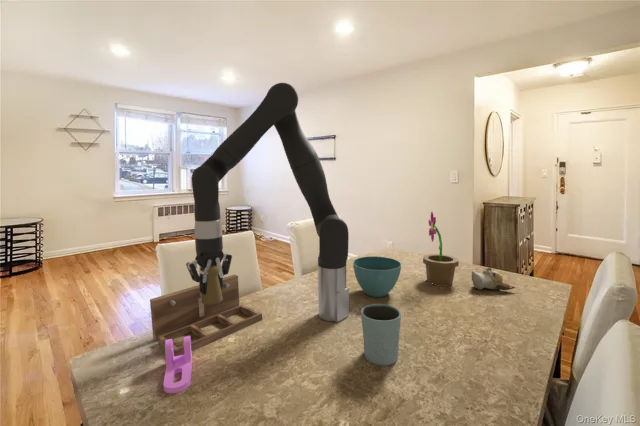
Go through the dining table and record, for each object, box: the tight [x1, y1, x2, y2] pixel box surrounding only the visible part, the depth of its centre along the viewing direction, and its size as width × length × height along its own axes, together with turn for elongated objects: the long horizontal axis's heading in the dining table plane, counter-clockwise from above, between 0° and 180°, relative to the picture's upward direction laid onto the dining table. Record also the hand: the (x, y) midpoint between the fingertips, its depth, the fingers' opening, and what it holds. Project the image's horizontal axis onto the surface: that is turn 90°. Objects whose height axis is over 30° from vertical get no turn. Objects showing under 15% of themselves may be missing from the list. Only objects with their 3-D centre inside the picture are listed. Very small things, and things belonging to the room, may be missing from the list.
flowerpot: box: [422, 211, 460, 286], centre depth 135 cm, size 14×14×30 cm
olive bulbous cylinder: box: [201, 265, 223, 304], centre depth 95 cm, size 6×6×11 cm
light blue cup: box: [360, 303, 402, 366], centre depth 83 cm, size 10×10×12 cm
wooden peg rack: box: [149, 274, 263, 357], centre depth 98 cm, size 14×28×12 cm, turn 139°
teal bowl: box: [352, 255, 402, 298], centre depth 125 cm, size 18×18×12 cm
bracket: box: [162, 335, 193, 394], centre depth 76 cm, size 13×6×7 cm, turn 20°
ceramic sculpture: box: [471, 267, 516, 291], centre depth 128 cm, size 11×9×15 cm
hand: (211, 291), depth 96 cm, fingers closed on olive bulbous cylinder, 4 cm apart
